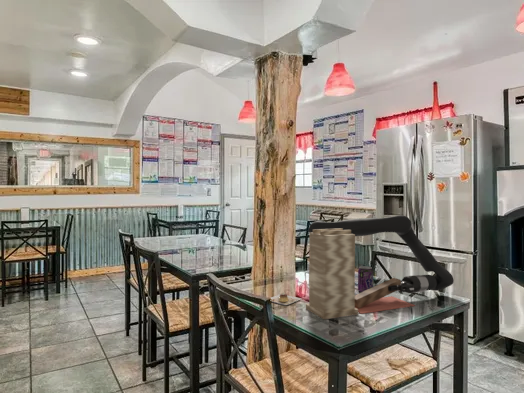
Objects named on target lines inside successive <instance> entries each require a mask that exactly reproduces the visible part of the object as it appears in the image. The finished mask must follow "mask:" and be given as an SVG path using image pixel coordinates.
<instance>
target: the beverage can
mask: <svg viewBox="0 0 524 393" xmlns="http://www.w3.org/2000/svg"><path fill="white" fill-rule="evenodd" d="M372 287H374V270H373V267H371V266H367V265H365V266H364V265H362V266H361V265H360V266H359V267H358V269H357V291H359V293H361V292H363V291H366V290H368V289H370V288H372Z"/></svg>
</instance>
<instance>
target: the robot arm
mask: <svg viewBox="0 0 524 393" xmlns="http://www.w3.org/2000/svg"><path fill="white" fill-rule="evenodd" d="M412 227H413V226H412V221H411V219H410V218H409V217H408V216H407V215H402V214H399V215H393V216H386V217H361V218H359V217H357V218H349V219H342V220H339V221H328V222H327V221H324V220H315V221H313V222H312V223H310V224H309V228H308V233H309V234H310V233H311V232H313V230H315V229H339V228H342V229H343V230H351V234H355V237H366V236H367V237H368V236H370V235H372V236H373V235H375V234H380V233H381V234H382V233H395V234H397V235H398V236H399V237H400V238H401V240H402V241H403V242H404V243H405V244H406V246H408V248H409V249H410V251H411V252H412V254H413V256H414V257H415V259H416V260H417V261H418V263H419V264H420V265H421V267H422V269H423V270H424V271H425V272H427V273H430V272H434V274H435V275H432V274H422V275H421V274H415V275H406V276H403V278H402V279H400V281H401V283H400V284H399V285H392V286H388V291H395V292H400V293H408V294H415V293H423V292H425V291H427V292H428V291H442V290H444V289H446V288H448V287H449V288H450V286H452V285H453V284H454V277H453V275H452V274H451V272H450V271H449V270H447V269H446V268H445V267H444V266H443V265H442V264H440V262H438V261H437V259H436V258H435V257H434V256H433V254H432V253H431V251H430V250H429V249H428V248H427V247H426V246H425V245H424V243H423V242H422V241H421V240H420V239H419V237H418V236H417V235H416V233H415V231H414V229H413V228H412Z"/></svg>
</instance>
